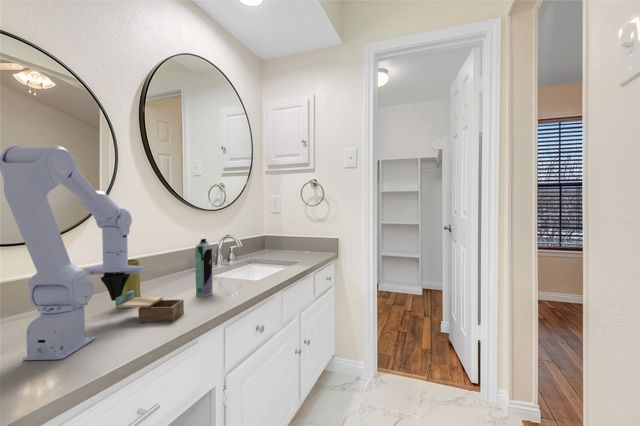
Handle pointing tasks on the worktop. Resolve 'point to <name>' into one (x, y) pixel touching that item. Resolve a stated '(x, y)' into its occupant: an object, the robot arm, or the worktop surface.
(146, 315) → the box
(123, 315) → the worktop surface
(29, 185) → the robot arm
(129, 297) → the tan panel teal strip
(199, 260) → the spray can
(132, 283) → the vase
